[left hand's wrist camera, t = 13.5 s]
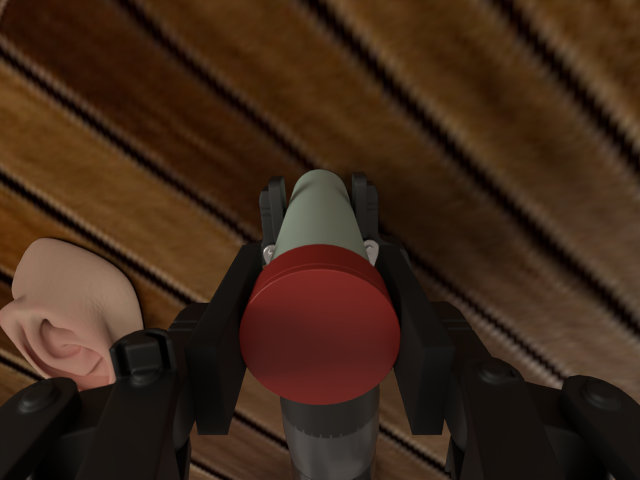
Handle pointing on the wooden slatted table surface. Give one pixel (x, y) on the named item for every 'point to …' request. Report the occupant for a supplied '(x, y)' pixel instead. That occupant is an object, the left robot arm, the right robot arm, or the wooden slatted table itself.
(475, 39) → the wooden slatted table surface
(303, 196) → the pale green slim bottle
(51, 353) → the anatomical model
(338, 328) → the lid
